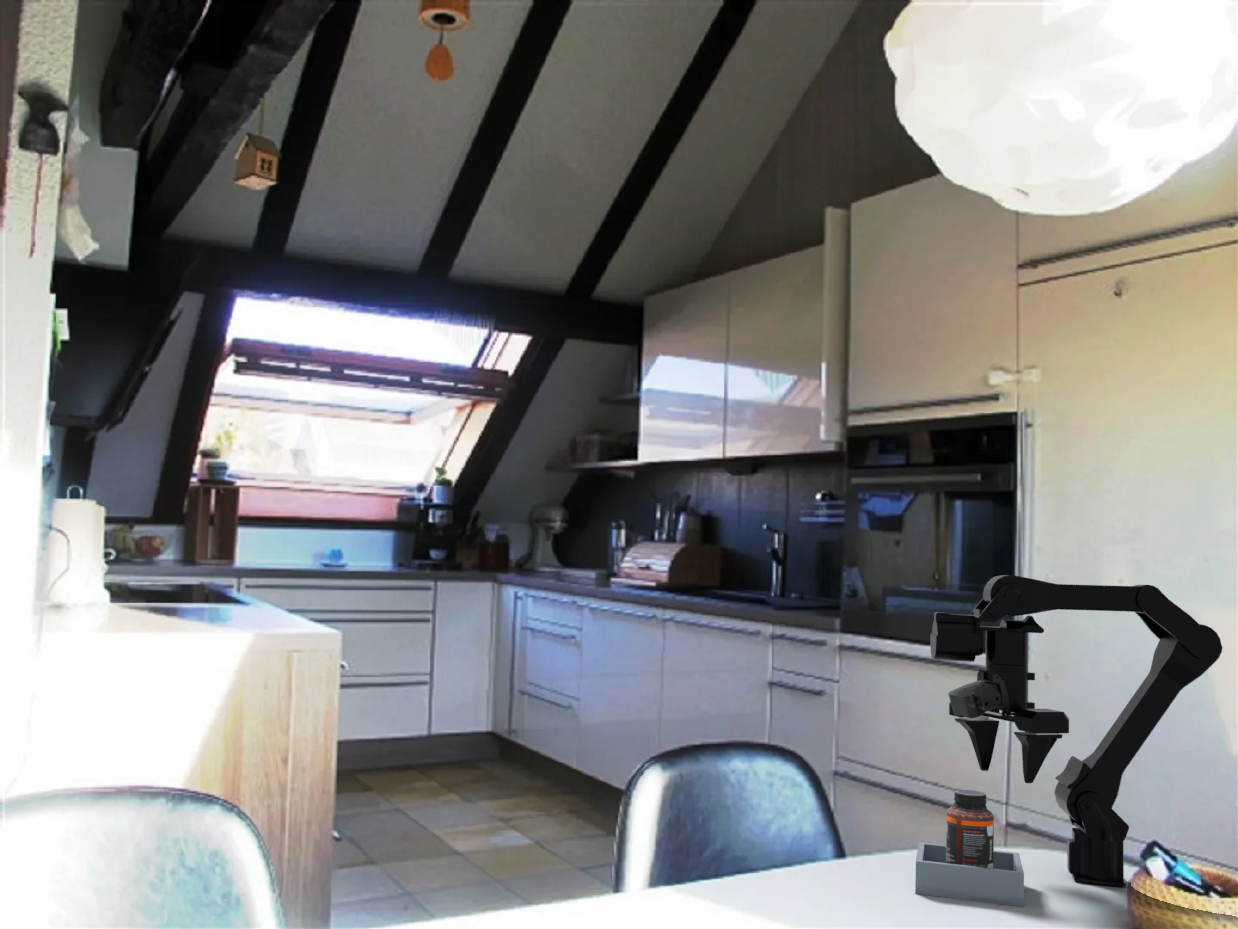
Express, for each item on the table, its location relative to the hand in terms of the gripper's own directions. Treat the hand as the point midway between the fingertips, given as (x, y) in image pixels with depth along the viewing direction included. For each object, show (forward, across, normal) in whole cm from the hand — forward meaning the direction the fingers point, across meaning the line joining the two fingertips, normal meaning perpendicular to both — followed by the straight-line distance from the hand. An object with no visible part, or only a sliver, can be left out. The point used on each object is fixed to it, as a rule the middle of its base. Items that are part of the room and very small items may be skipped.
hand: (1005, 776), depth 152 cm
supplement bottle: (+12, +6, -10) cm, 17 cm away
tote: (+13, +6, -11) cm, 18 cm away
